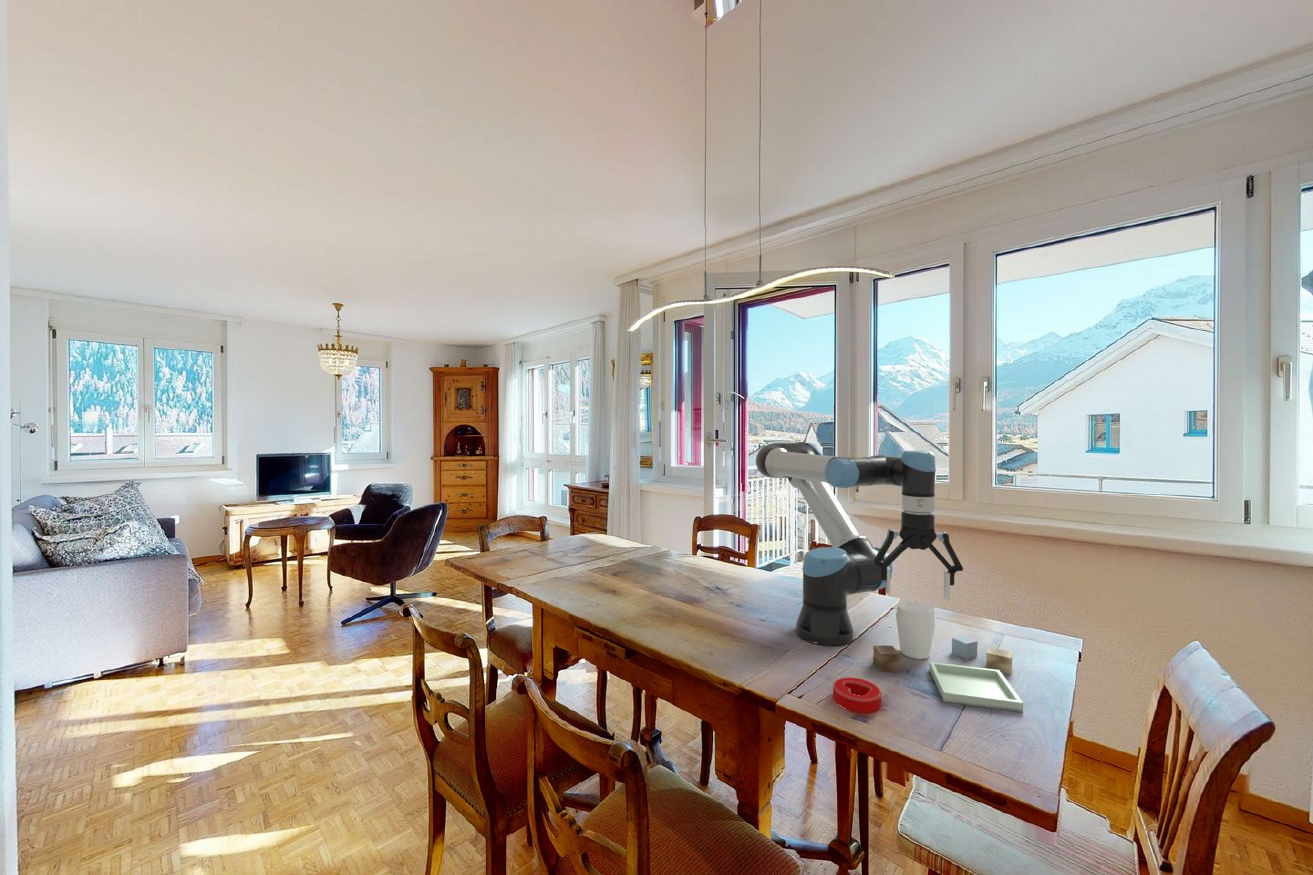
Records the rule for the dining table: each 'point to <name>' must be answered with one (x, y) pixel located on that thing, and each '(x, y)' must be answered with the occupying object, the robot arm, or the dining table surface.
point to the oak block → (999, 660)
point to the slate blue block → (964, 647)
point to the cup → (915, 628)
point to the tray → (975, 687)
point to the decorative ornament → (860, 704)
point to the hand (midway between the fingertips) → (916, 595)
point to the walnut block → (886, 658)
